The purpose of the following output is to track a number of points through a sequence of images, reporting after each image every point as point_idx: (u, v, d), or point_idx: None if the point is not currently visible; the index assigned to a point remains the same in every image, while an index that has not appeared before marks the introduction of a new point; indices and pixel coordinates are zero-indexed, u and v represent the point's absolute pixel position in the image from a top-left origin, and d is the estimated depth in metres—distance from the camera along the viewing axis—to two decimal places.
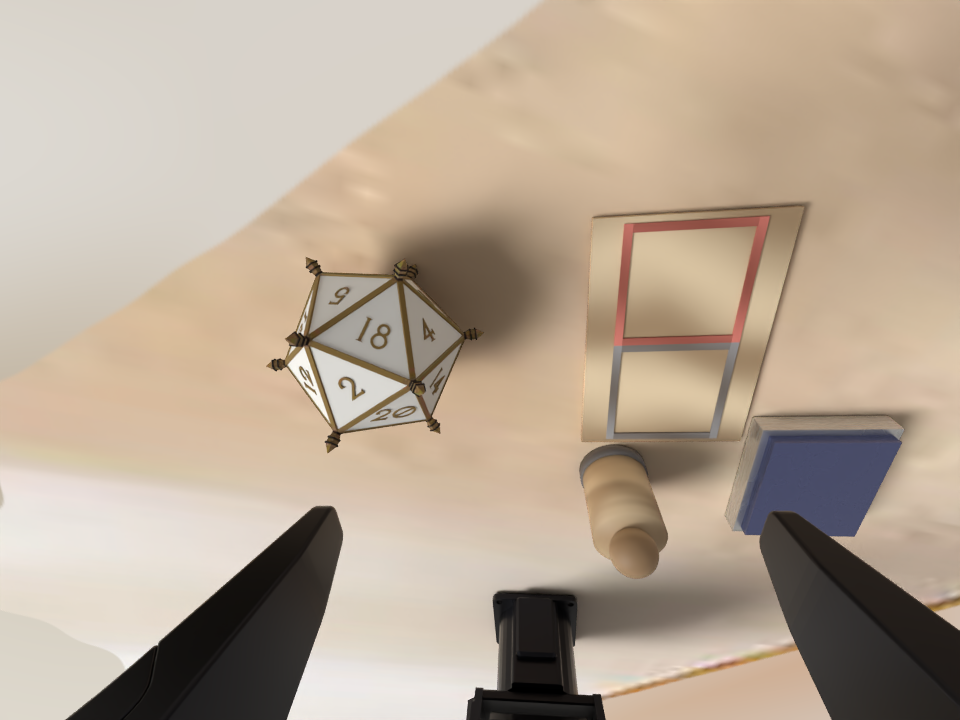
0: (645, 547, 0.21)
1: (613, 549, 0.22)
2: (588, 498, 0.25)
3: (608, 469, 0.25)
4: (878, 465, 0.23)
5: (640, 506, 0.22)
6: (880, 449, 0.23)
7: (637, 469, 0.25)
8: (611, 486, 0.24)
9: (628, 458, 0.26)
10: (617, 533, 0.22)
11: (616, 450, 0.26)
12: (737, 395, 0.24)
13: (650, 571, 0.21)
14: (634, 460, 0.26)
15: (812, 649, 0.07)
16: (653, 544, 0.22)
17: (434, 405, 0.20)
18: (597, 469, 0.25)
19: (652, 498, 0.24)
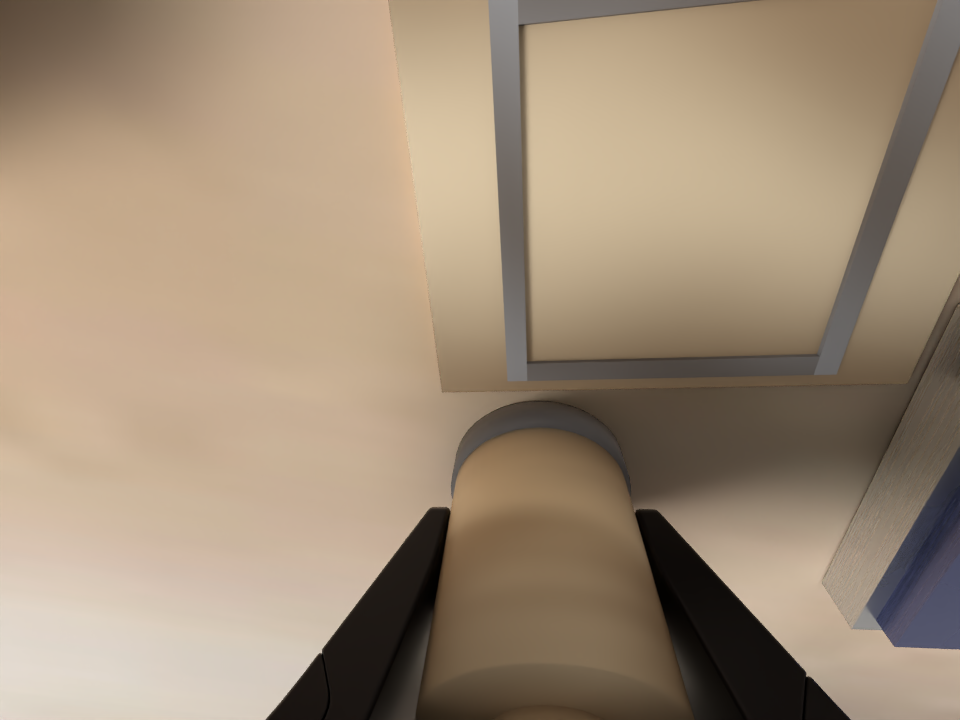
0: None
1: None
2: (442, 560, 0.08)
3: (505, 470, 0.08)
4: None
5: (589, 618, 0.06)
6: None
7: (595, 470, 0.08)
8: (497, 529, 0.07)
9: (571, 437, 0.09)
10: None
11: (539, 416, 0.09)
12: (934, 214, 0.07)
13: None
14: (589, 443, 0.09)
15: None
16: None
17: None
18: (478, 470, 0.09)
19: (638, 573, 0.07)
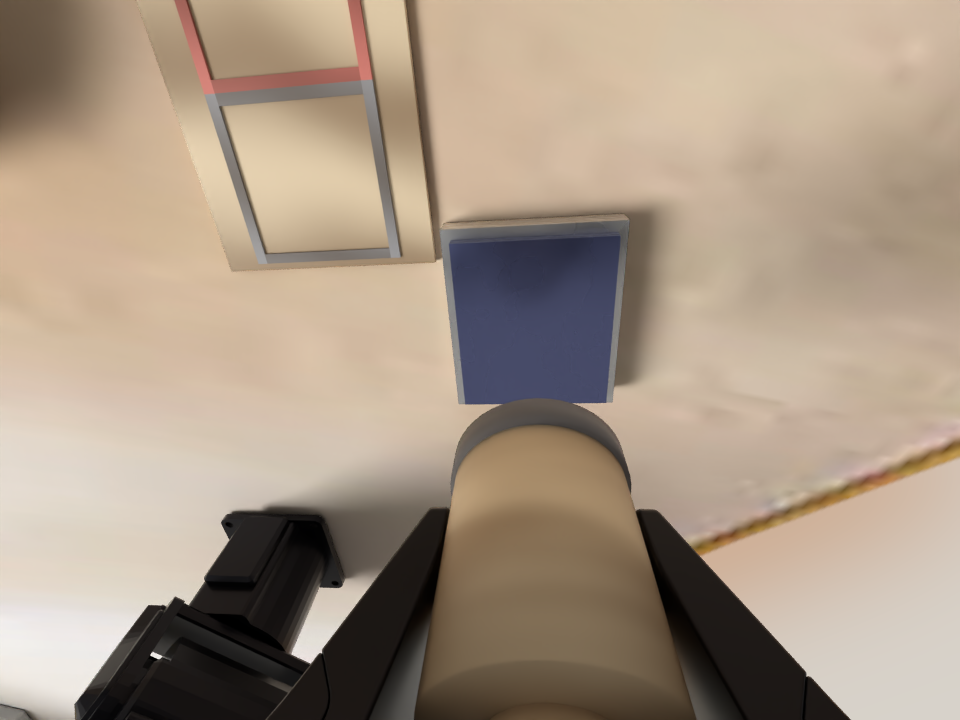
0: None
1: None
2: None
3: (505, 467, 0.08)
4: (601, 278, 0.16)
5: (590, 615, 0.05)
6: (594, 248, 0.16)
7: (595, 467, 0.08)
8: (496, 525, 0.07)
9: (571, 434, 0.09)
10: None
11: (538, 413, 0.09)
12: (405, 181, 0.17)
13: None
14: (589, 440, 0.09)
15: None
16: None
17: None
18: (478, 467, 0.09)
19: (639, 570, 0.07)
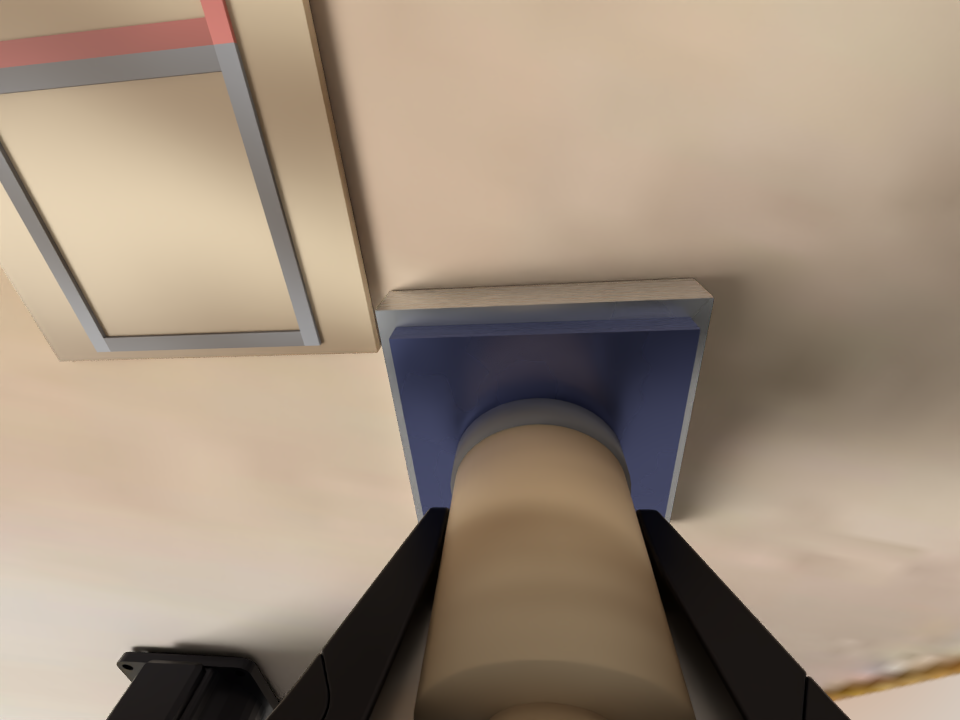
0: None
1: None
2: (441, 557, 0.08)
3: (504, 467, 0.08)
4: (658, 397, 0.09)
5: (590, 615, 0.05)
6: (650, 350, 0.09)
7: (595, 467, 0.08)
8: (497, 525, 0.07)
9: (571, 434, 0.09)
10: None
11: (538, 413, 0.09)
12: (316, 226, 0.10)
13: None
14: (589, 440, 0.09)
15: None
16: None
17: None
18: (478, 467, 0.09)
19: (639, 570, 0.07)
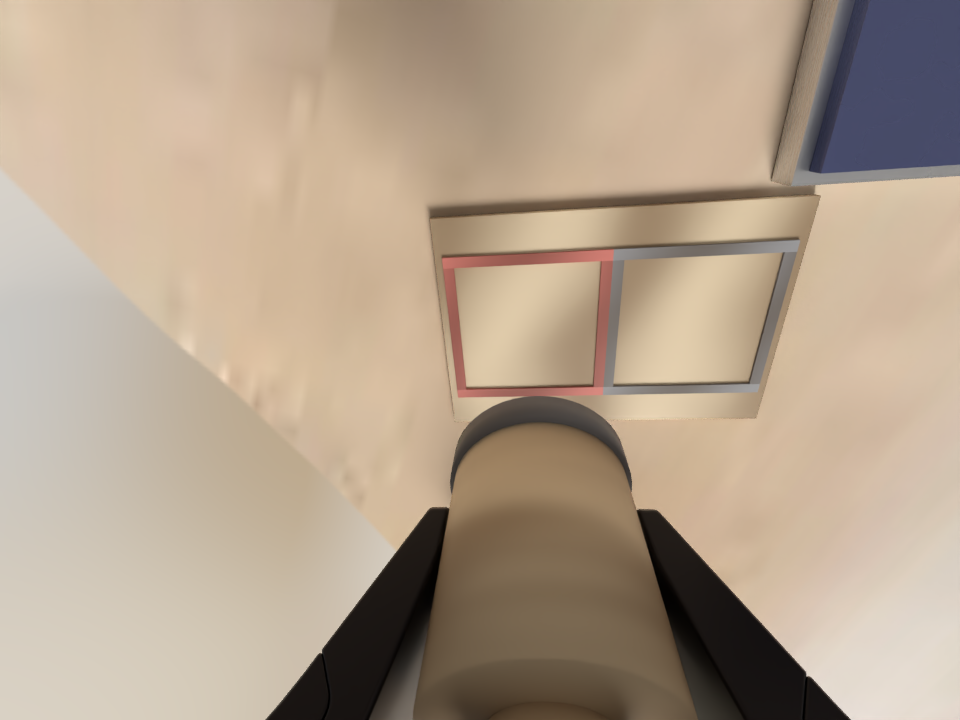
0: None
1: None
2: (441, 556, 0.08)
3: (505, 464, 0.08)
4: None
5: (591, 614, 0.05)
6: None
7: (596, 465, 0.08)
8: (496, 523, 0.07)
9: (572, 432, 0.09)
10: None
11: (539, 410, 0.09)
12: (714, 225, 0.15)
13: None
14: (590, 438, 0.09)
15: None
16: None
17: None
18: (478, 465, 0.08)
19: (640, 568, 0.07)
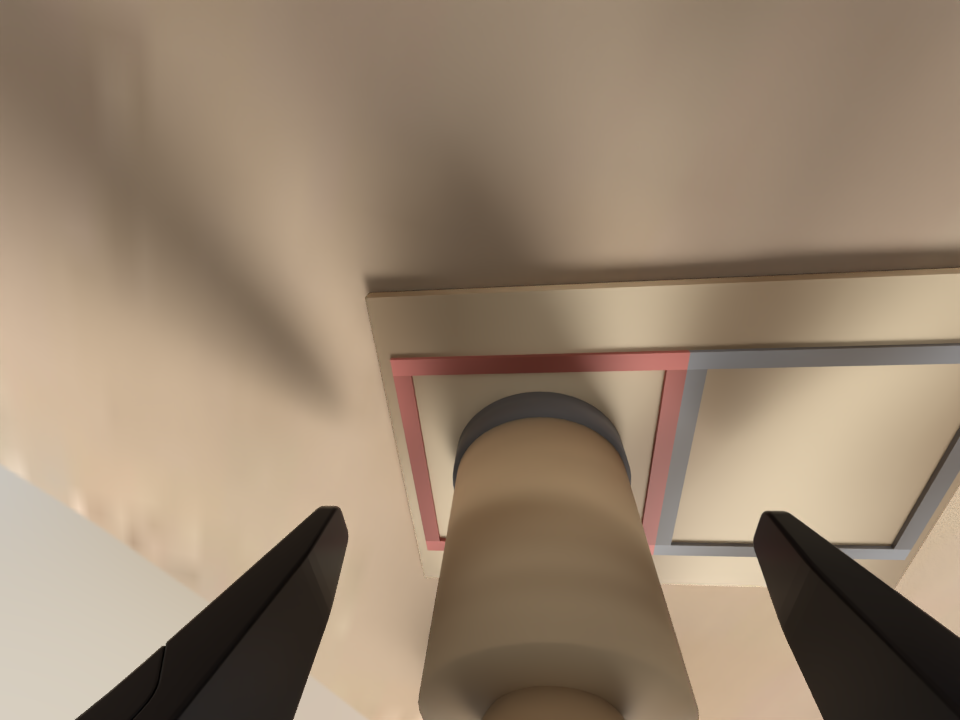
0: None
1: None
2: (444, 548, 0.08)
3: (506, 458, 0.08)
4: None
5: (592, 600, 0.06)
6: None
7: (596, 458, 0.08)
8: (499, 515, 0.07)
9: (572, 427, 0.09)
10: (495, 713, 0.05)
11: (540, 405, 0.09)
12: (879, 315, 0.08)
13: None
14: (590, 433, 0.09)
15: (804, 649, 0.07)
16: None
17: None
18: (480, 459, 0.09)
19: (640, 558, 0.07)
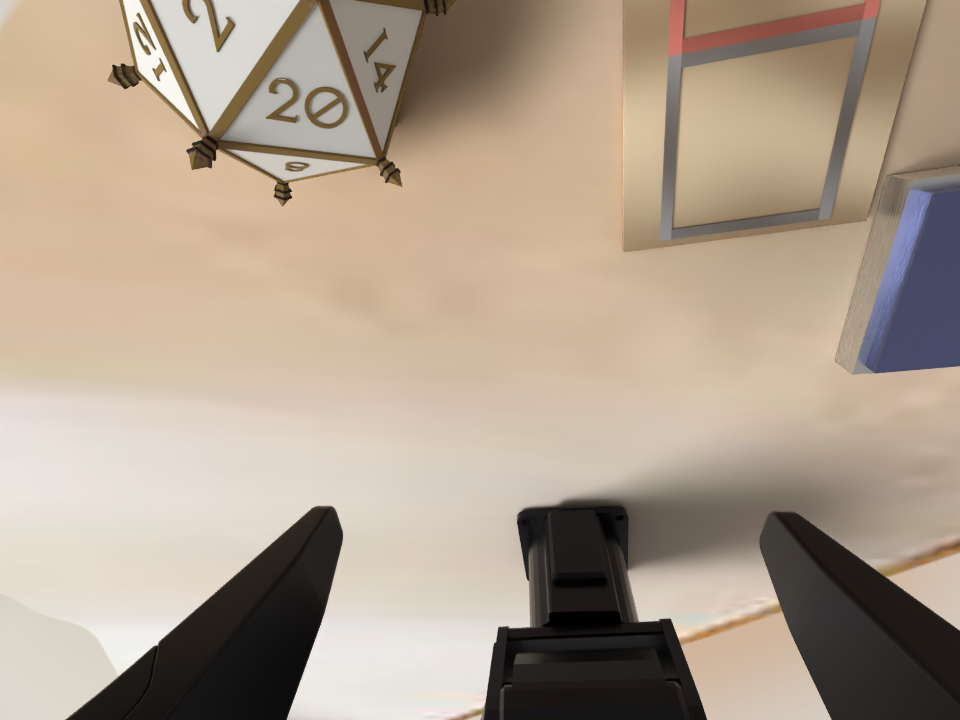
0: None
1: None
2: None
3: None
4: None
5: None
6: None
7: None
8: None
9: None
10: None
11: None
12: (867, 132, 0.15)
13: None
14: None
15: (812, 649, 0.07)
16: None
17: (387, 132, 0.13)
18: None
19: None
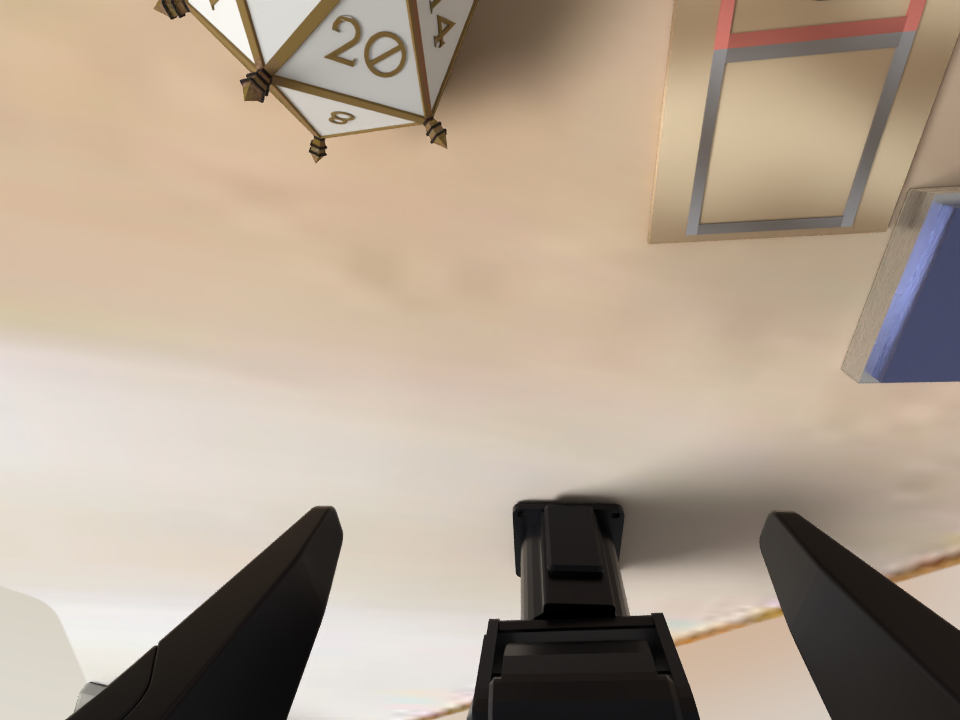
0: None
1: None
2: None
3: None
4: None
5: None
6: None
7: None
8: None
9: None
10: None
11: None
12: (895, 143, 0.16)
13: None
14: None
15: (812, 649, 0.07)
16: None
17: (438, 92, 0.12)
18: None
19: None
